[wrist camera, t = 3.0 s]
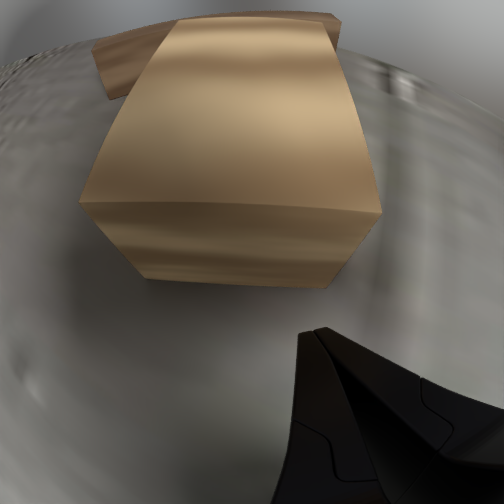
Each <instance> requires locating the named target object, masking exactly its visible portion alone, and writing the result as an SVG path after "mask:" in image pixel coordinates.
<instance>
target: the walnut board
mask: <svg viewBox="0 0 504 504" xmlns="http://www.w3.org/2000/svg"><path fill="white" fill-rule="evenodd" d="M214 17H269V18H285V19H296V20H305V21H314V22H321V23H323V25H324V28H325V30H326V32H327V34H328V37H329V39H330V41H331V44H332V46H333V48H334V51H335V53H336V48H337V43H338V38H339V33H340V28H341V23H342V22H341V21H340V20H338V19H337V18H336V17H335V16H333V15H332V14H330V13H318V12H304V11H246V12H231V13H220V14H211V15H204V16H197V17H190V18H183V19H178V20H172V21H168V22H163V23H158V24H154V25H149V26H145V27H142V28H138V29H133V30H130V31H126V32H123V33H119V34H116V35H113V36H110V37H107V38H104V39H101V40H98V41H97V42H96V44H95V46H94V47H93V49H92V51H91V52H92V54H93V57H94V60H95V63H96V66H97V68H98V71H99V74H100V76H101V79H102V82H103V84H104V87H105V90H106V92H107V95H108V97H109V100H111V99H115V98H118V97H122V96H125V95H129V93H130V91H131V90H132V88H133V86H134V85H135V83H136V81H137V80H138V78H139V76H140V75H141V73H142V72H143V70H144V69H145V67H146V65H147V64H148V62H149V61H150V59H151V58H152V56H153V55H154V53H155V52H156V51H157V49H158V48H159V46H160V45H161V43H162V42H163V41H164V39H165V38H166V37H167V35H168V34H169V32H170V31H171V30H172V28H173V27H174V26H175V25H176V23H177V22H178V21H179V20H187V19H198V18H214Z"/></svg>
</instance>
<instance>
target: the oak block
mask: <svg viewBox="0 0 504 504" xmlns="http://www.w3.org/2000/svg"><path fill="white" fill-rule="evenodd" d="M78 203H79V204H80V205H81V207H82V208H83V209H84V210H85V212H86V213H87V214H88V215H89V216H90V218H91V219H92V220H93V221H94V222H95V223H96V225H97V226H98V227H99V228H100V229H101V231H102V232H103V233H104V234H105V235H106V236H107V237H108V239H109V240H110V241H111V242H112V243H113V244H114V245H115V246H116V248H117V249H118V250H119V251H120V252H121V253H122V254H123V255H124V256H125V257H126V259H127V260H128V261H129V262H130V263H131V264H132V265H133V266H134V267H135V268H136V269H137V270H138V271H139V272H140V274H141V275H142V276H143V277H144V278H145V279H156V280H169V281H183V282H199V283H215V284H233V285H252V286H274V287H300V288H327V286H328V285H329V284H330V283H331V281H332V280H333V279H334V277H335V276H336V275H337V274H338V272H339V271H340V270H341V268H342V267H343V266H344V265H345V263H346V262H347V261H348V259H349V258H350V257H351V255H352V254H353V253H354V251H355V250H356V249H357V247H358V246H359V245H360V243H361V242H362V241H363V239H364V238H365V237H366V235H367V234H368V232H369V231H370V230H371V228H372V227H373V225H374V224H375V223H376V221H377V220H378V218H379V217H380V216H381V214H382V210H381V205H380V200H379V195H378V190H377V186H376V181H375V177H374V173H373V169H372V164H371V160H370V157H369V153H368V149H367V145H366V142H365V138H364V135H363V131H362V128H361V124H360V121H359V118H358V115H357V111H356V108H355V105H354V102H353V99H352V96H351V93H350V90H349V88H348V85H347V82H346V79H345V76H344V74H343V71H342V68H341V66H340V63H339V61H338V58H337V56H336V53H335V51H334V48H333V46H332V44H331V41H330V39H329V37H328V34H327V32H326V30H325V28H324V25H323V23H321V22H314V21H305V20H296V19H285V18H269V17H214V18H198V19H187V20H179V21H178V22H177V23H176V25H175V26H174V27H173V28H172V30H171V31H170V32H169V34H168V35H167V37H166V38H165V39H164V41H163V42H162V43H161V45H160V46H159V48H158V49H157V51H156V52H155V53H154V55H153V56H152V58H151V59H150V61H149V62H148V64H147V65H146V67H145V69H144V70H143V72H142V73H141V75H140V76H139V78H138V80H137V81H136V83H135V85H134V86H133V88H132V90H131V91H130V93H129V95H128V97H127V98H126V100H125V102H124V104H123V105H122V107H121V109H120V111H119V113H118V115H117V117H116V118H115V120H114V122H113V124H112V126H111V128H110V130H109V132H108V134H107V136H106V138H105V140H104V142H103V145H102V147H101V149H100V151H99V153H98V155H97V158H96V160H95V162H94V164H93V167H92V169H91V171H90V174H89V176H88V179H87V181H86V184H85V186H84V189H83V191H82V194H81V197H80V199H79V202H78Z"/></svg>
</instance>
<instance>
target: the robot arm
mask: <svg viewBox="0 0 504 504" xmlns="http://www.w3.org/2000/svg"><path fill="white" fill-rule="evenodd" d="M270 504H504V409H501V408H498V407H495V406H492V405H489V404H486V403H483V402H480V401H477V400H474V399H471V398H469V397H466V396H463V395H461V394H458V393H455V392H453V391H450V390H448V389H446V388H444V387H441V386H439V385H437V384H435V383H433V382H431V381H429V380H427V379H425V378H423V377H422V378H421V379H420V376H419V375H417V374H415V373H413V372H411V371H409V370H407V369H405V368H403V367H401V366H399V365H397V364H395V363H394V362H392V361H390V360H388V359H386V358H384V357H382V356H380V355H378V354H376V353H374V352H373V351H371V350H369V349H367V348H365V347H363V346H361V345H359V344H358V343H356V342H354V341H352V340H350V339H348V338H346V337H345V336H343V335H341V334H339V333H337V332H335V331H333V330H332V329H330V328H328V327H323V328H319V329H315V330H314V331H306V332H302V333H299V334H298V342H297V357H296V371H295V383H294V395H293V406H292V416H291V424H290V434H289V440H288V446H287V452H286V456H285V460H284V463H283V467H282V471H281V474H280V477H279V480H278V483H277V486H276V489H275V492H274V494H273V497H272V500H271V503H270Z"/></svg>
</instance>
